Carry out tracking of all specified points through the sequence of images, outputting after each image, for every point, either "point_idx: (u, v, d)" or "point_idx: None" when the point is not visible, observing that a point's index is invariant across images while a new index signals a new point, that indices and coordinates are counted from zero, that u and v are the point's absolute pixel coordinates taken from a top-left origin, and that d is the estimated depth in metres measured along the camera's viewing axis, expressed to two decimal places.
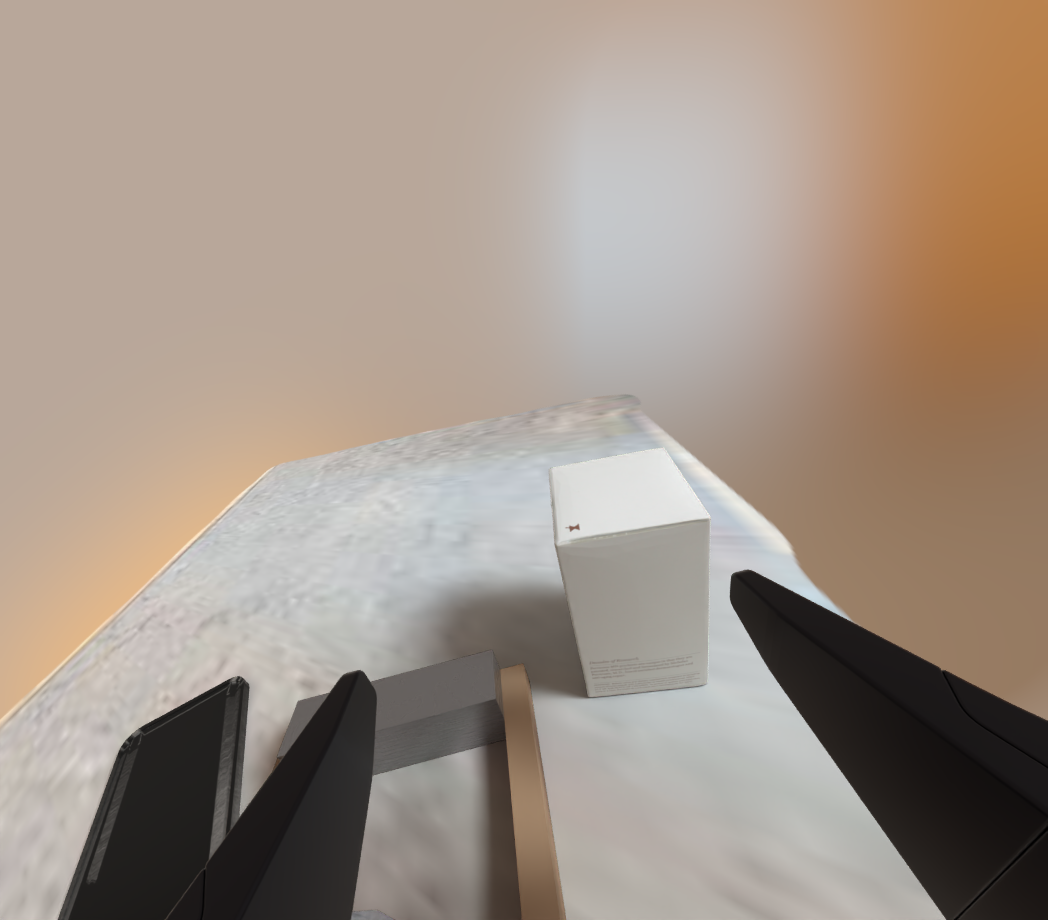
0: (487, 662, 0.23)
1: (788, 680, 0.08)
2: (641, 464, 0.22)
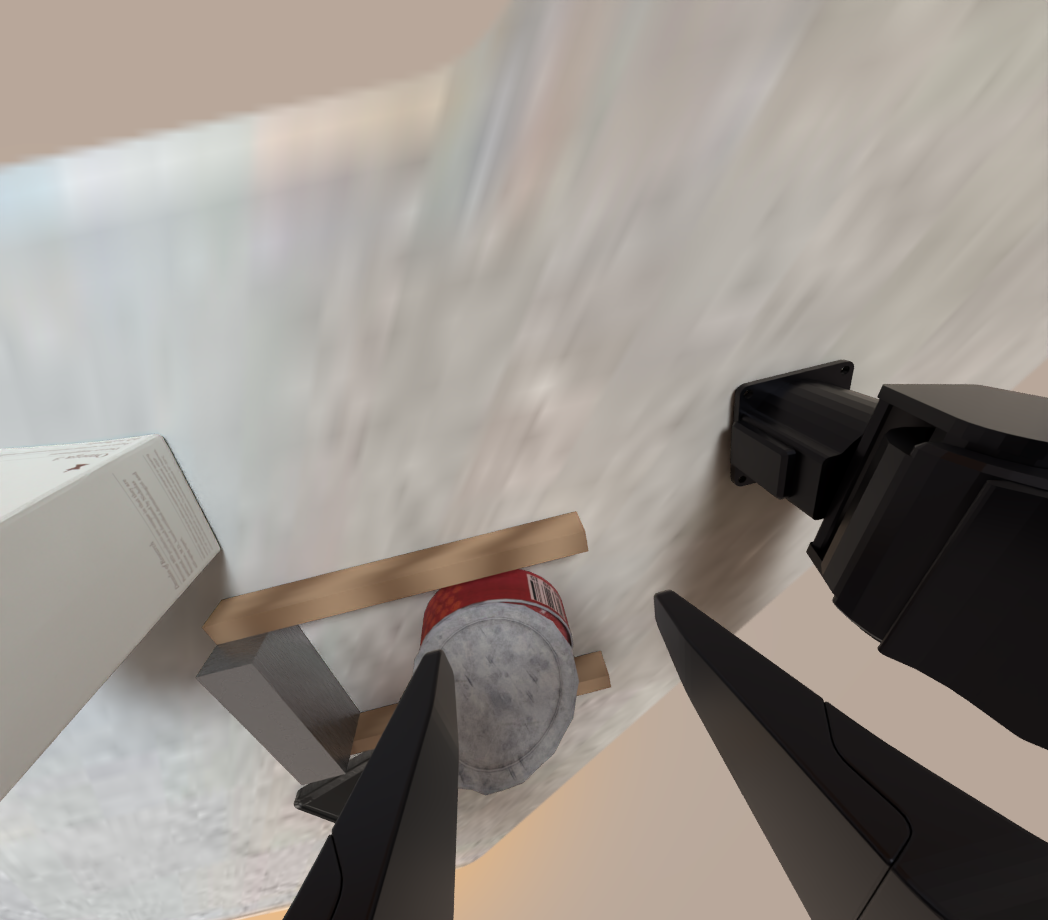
0: (213, 677, 0.21)
1: (699, 704, 0.08)
2: None
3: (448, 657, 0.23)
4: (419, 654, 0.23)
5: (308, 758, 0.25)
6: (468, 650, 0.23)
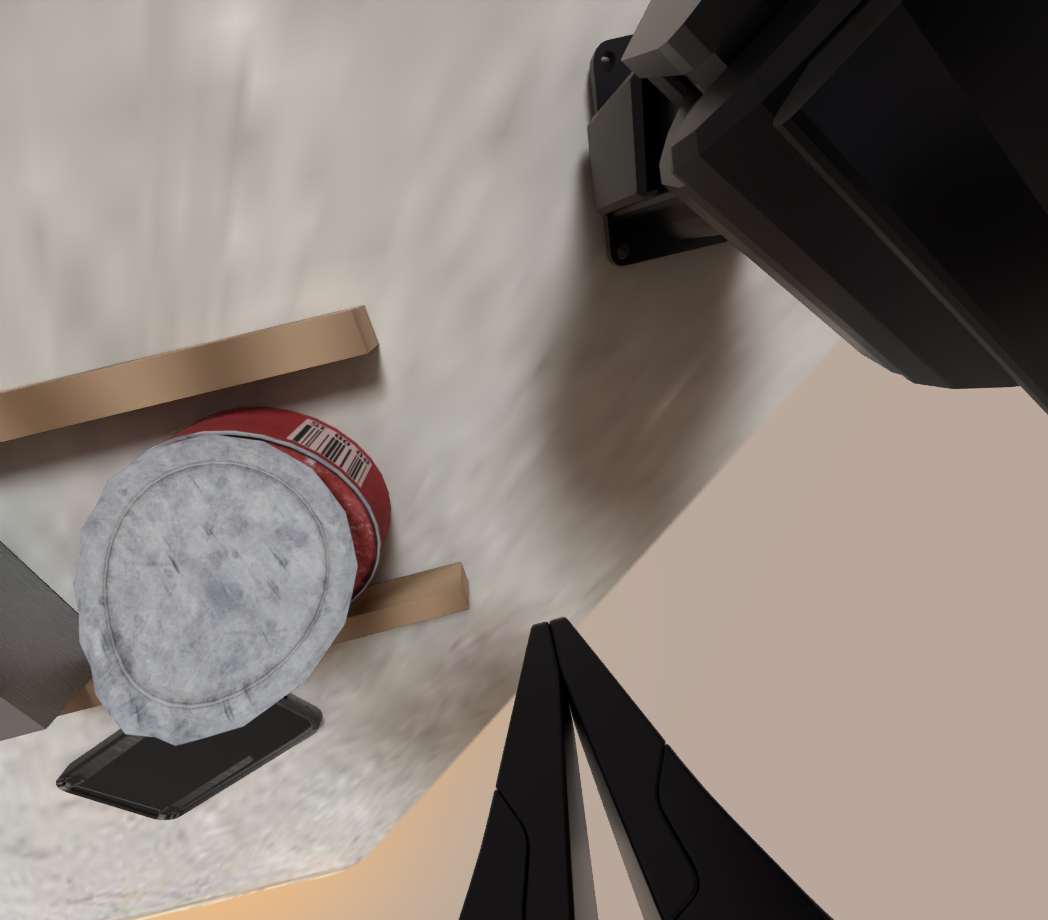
0: None
1: (579, 736, 0.08)
2: None
3: (140, 526, 0.14)
4: (90, 520, 0.14)
5: None
6: (172, 514, 0.14)
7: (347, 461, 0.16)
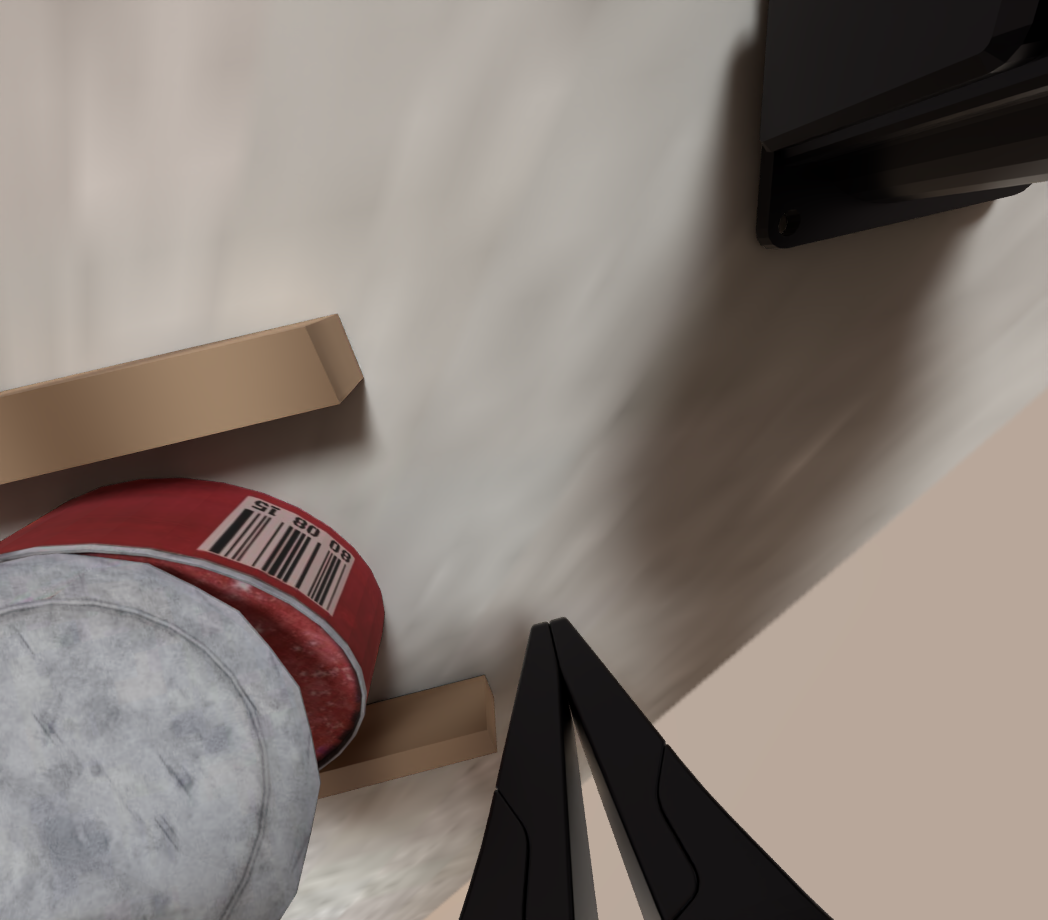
0: None
1: (580, 736, 0.08)
2: None
3: None
4: None
5: None
6: None
7: (311, 570, 0.10)
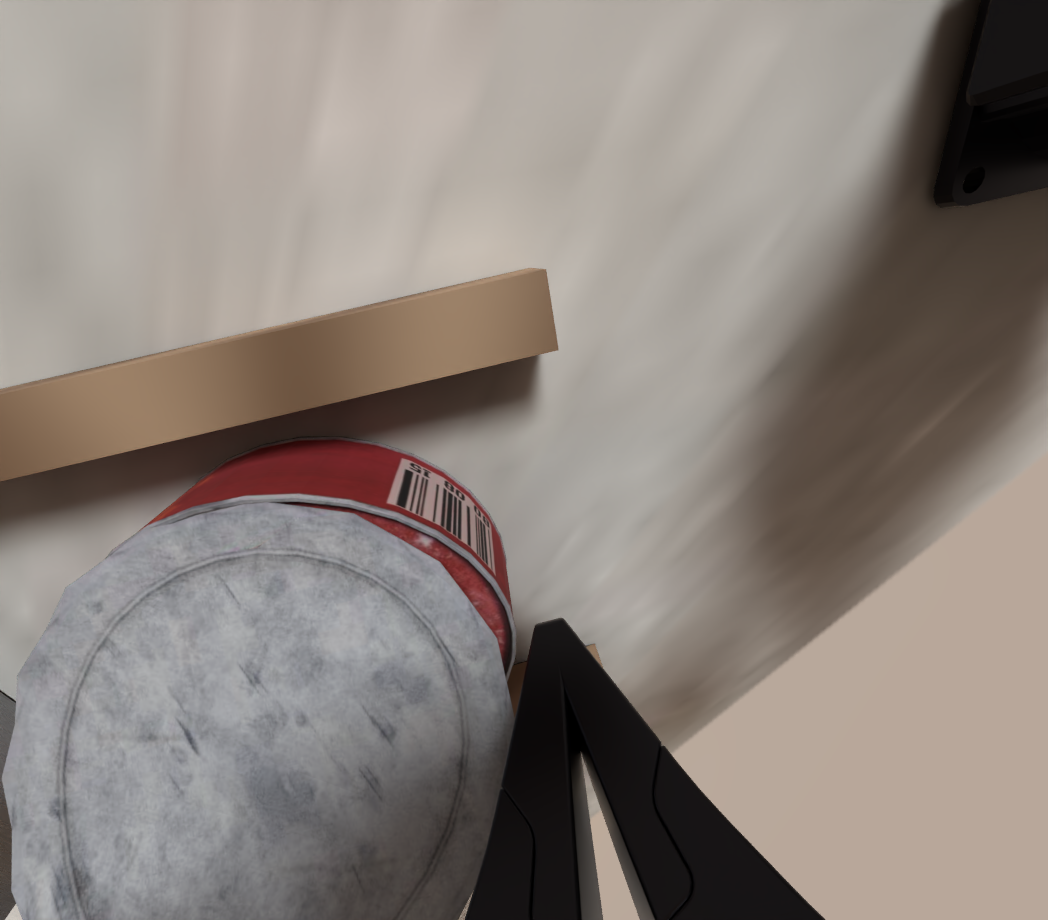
0: None
1: (576, 737, 0.08)
2: None
3: (126, 667, 0.08)
4: (34, 659, 0.07)
5: None
6: (186, 647, 0.08)
7: (472, 531, 0.10)
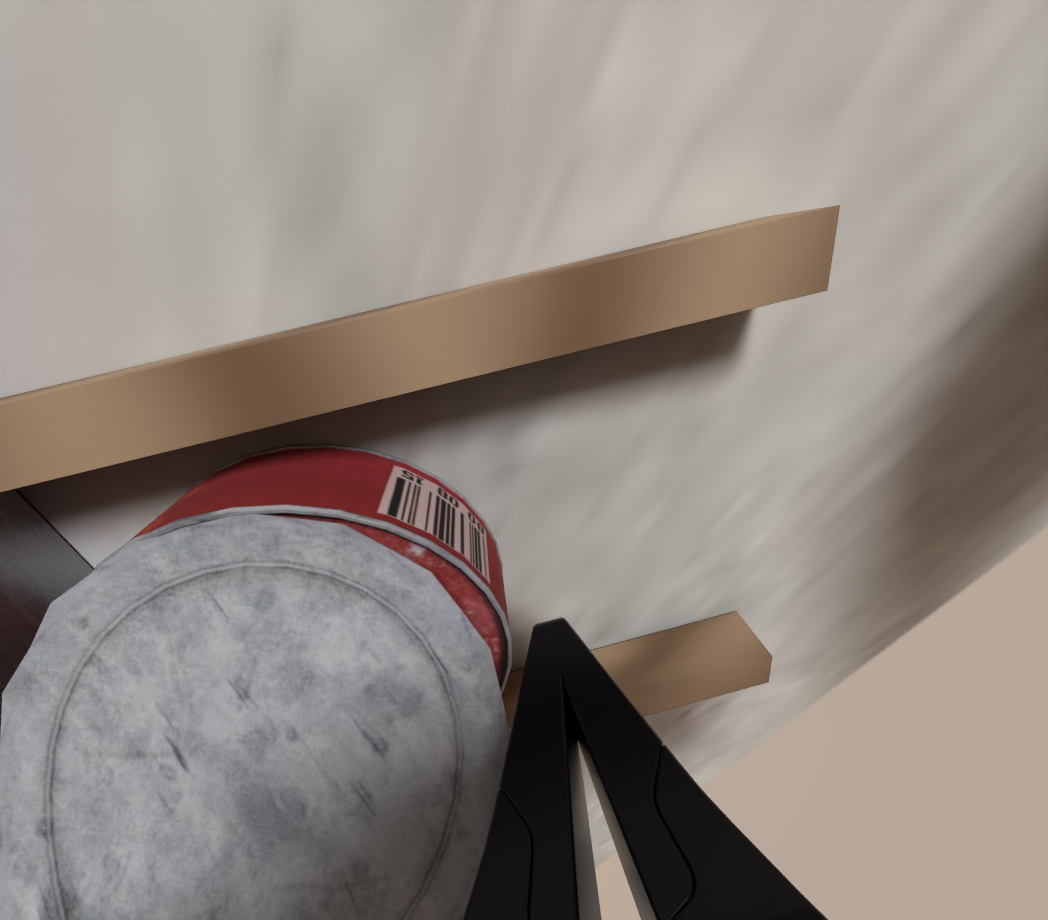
0: None
1: (577, 736, 0.08)
2: None
3: (113, 684, 0.07)
4: (19, 676, 0.07)
5: None
6: (174, 662, 0.07)
7: (465, 538, 0.10)
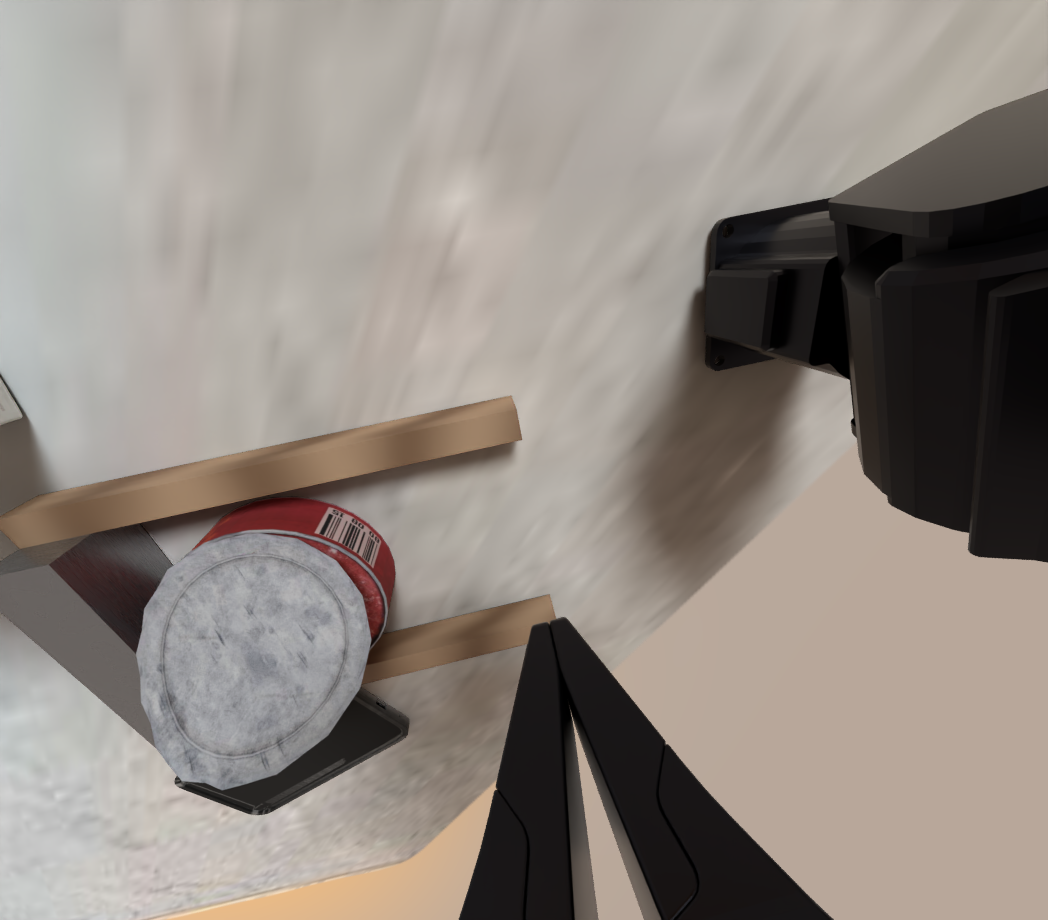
0: None
1: (580, 736, 0.08)
2: None
3: (192, 606, 0.17)
4: (151, 601, 0.17)
5: None
6: (220, 597, 0.17)
7: (362, 545, 0.19)
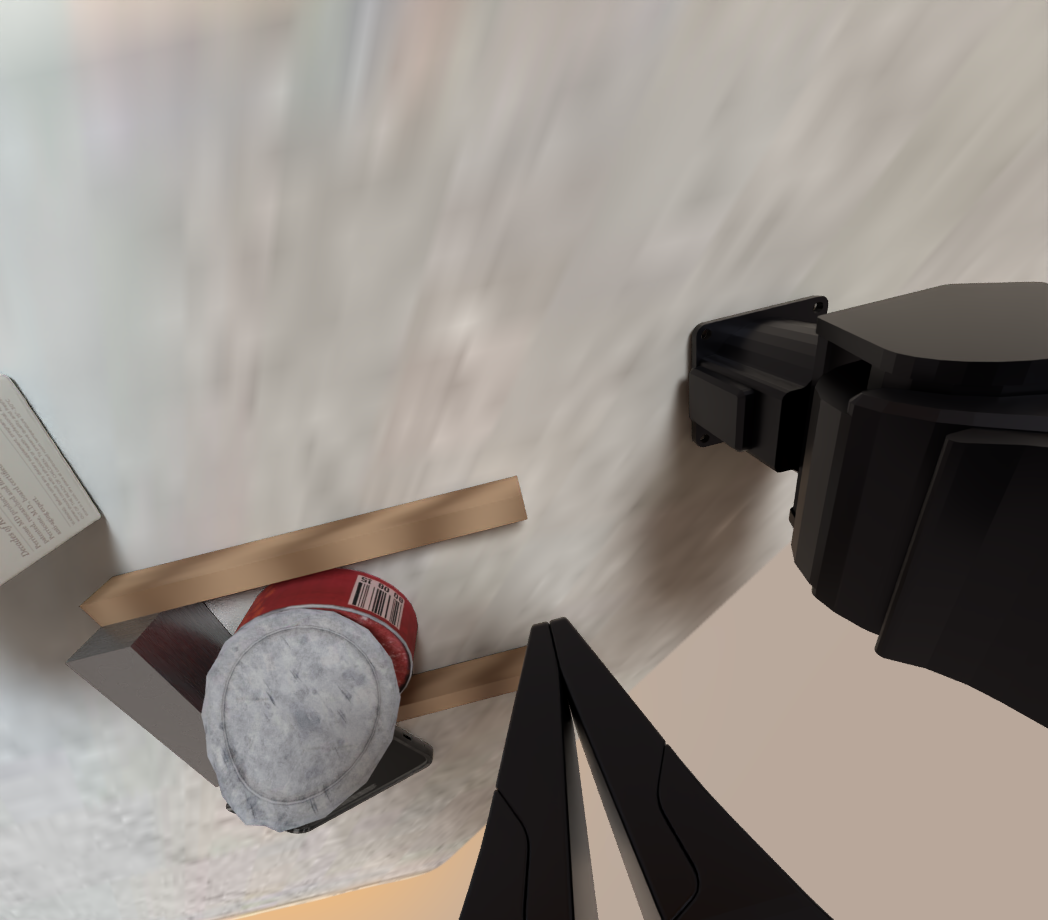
0: (86, 663, 0.18)
1: (579, 736, 0.08)
2: None
3: (247, 672, 0.20)
4: (212, 669, 0.20)
5: None
6: (269, 664, 0.20)
7: (389, 609, 0.22)
